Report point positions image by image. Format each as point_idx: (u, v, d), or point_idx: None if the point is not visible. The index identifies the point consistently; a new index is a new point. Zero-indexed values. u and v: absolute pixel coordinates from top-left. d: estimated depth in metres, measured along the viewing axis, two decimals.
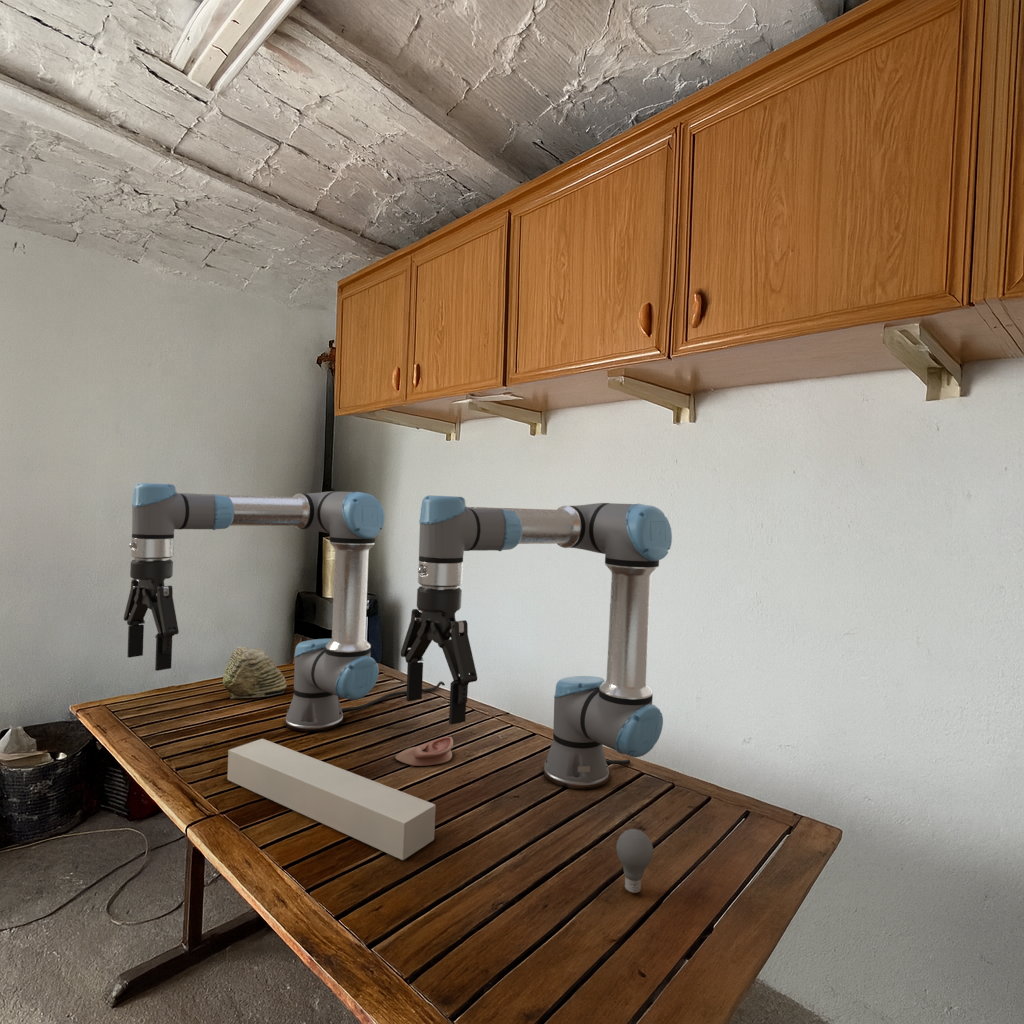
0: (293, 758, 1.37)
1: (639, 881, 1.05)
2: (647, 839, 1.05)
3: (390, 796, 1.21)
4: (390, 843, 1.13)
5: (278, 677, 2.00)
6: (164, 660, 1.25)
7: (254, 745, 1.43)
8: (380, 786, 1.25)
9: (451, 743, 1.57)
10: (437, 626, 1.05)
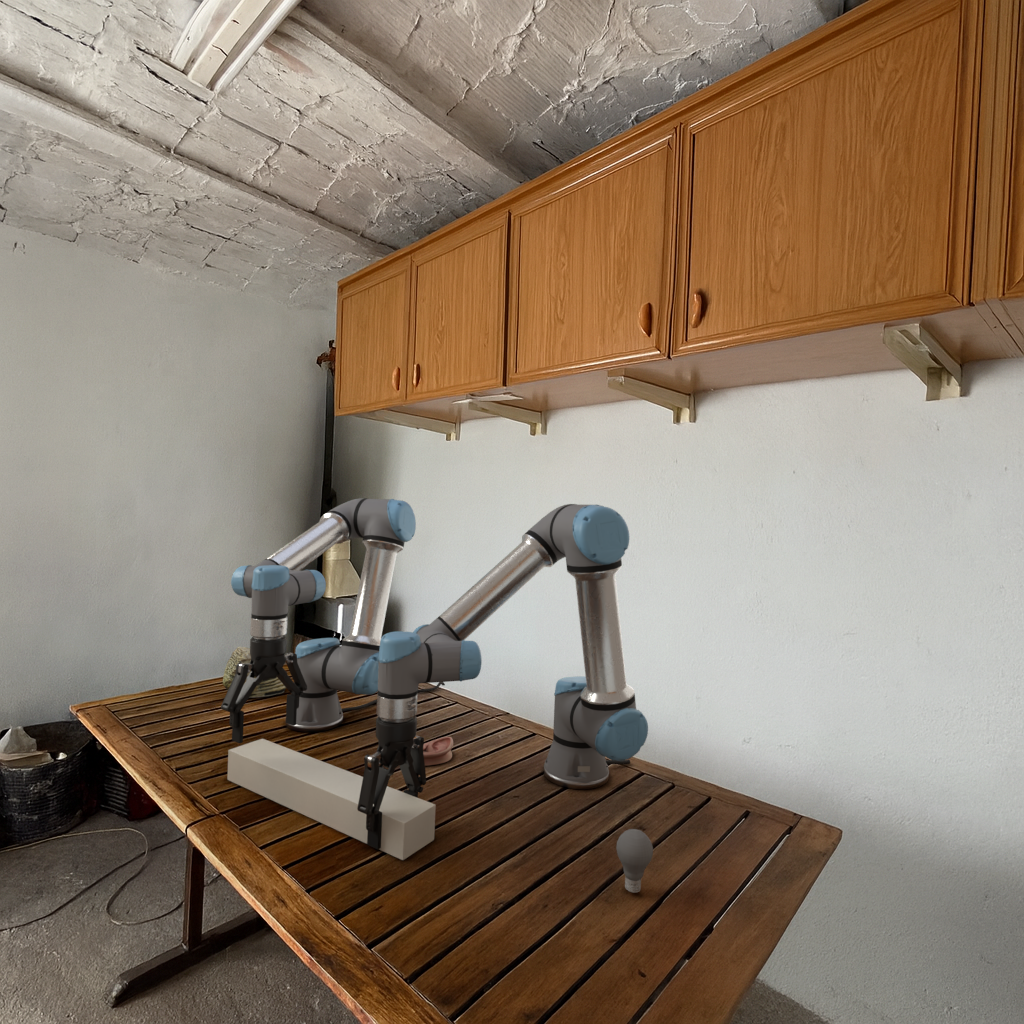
0: (293, 758, 1.37)
1: (639, 881, 1.05)
2: (647, 839, 1.05)
3: (390, 796, 1.21)
4: (390, 843, 1.13)
5: None
6: None
7: (254, 745, 1.43)
8: None
9: (451, 743, 1.57)
10: None
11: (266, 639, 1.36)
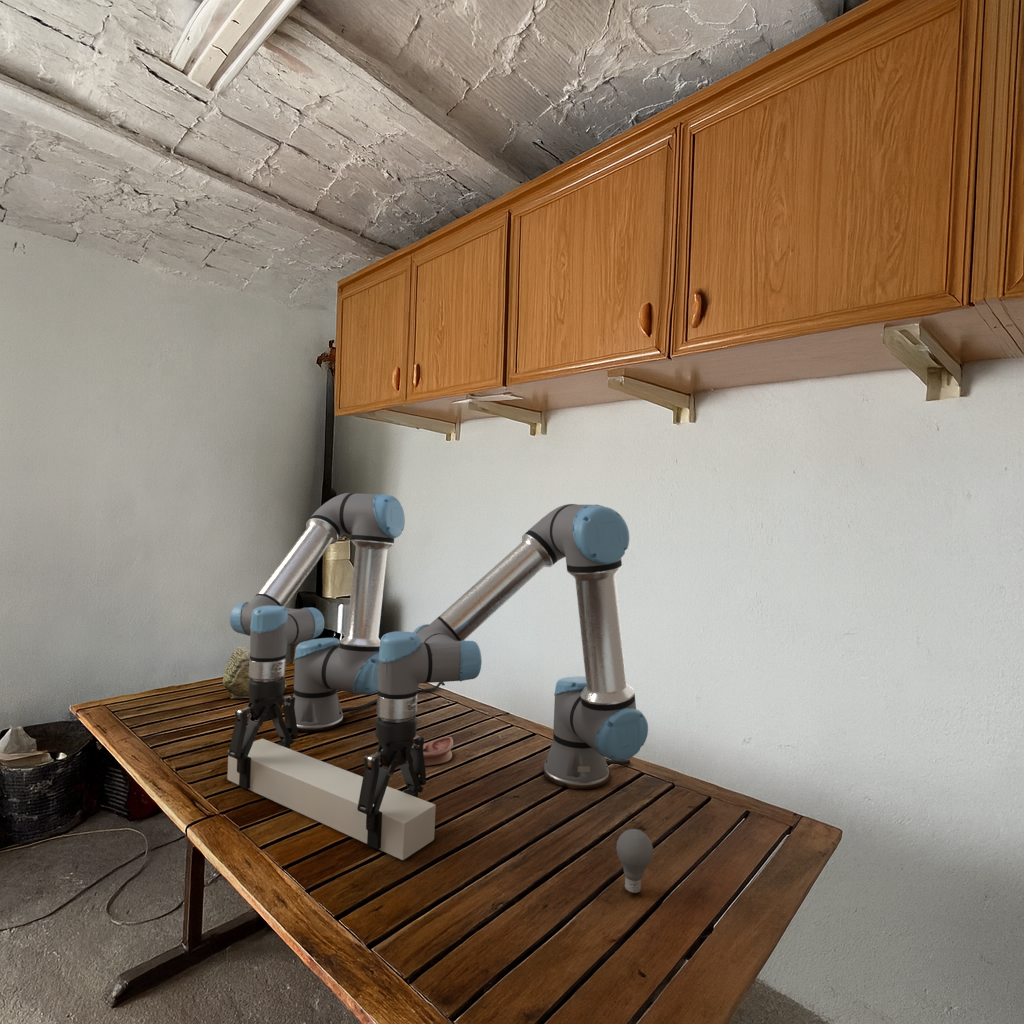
0: (293, 758, 1.37)
1: (639, 881, 1.05)
2: (647, 839, 1.05)
3: (390, 796, 1.21)
4: (390, 843, 1.13)
5: None
6: None
7: (254, 745, 1.43)
8: None
9: (451, 743, 1.57)
10: None
11: (264, 681, 1.36)
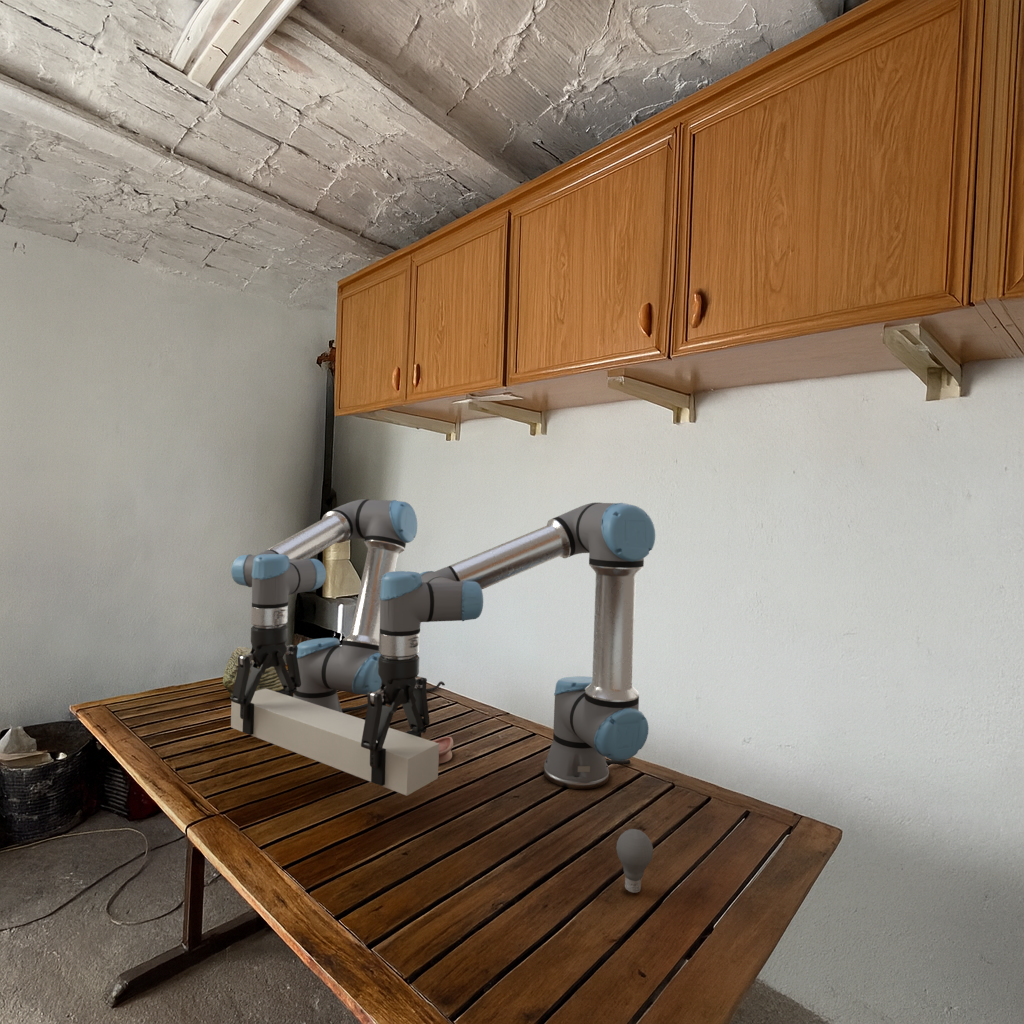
0: (296, 704, 1.37)
1: (639, 881, 1.05)
2: (647, 839, 1.05)
3: (393, 736, 1.21)
4: (394, 779, 1.13)
5: (278, 677, 2.00)
6: None
7: (257, 694, 1.43)
8: None
9: (451, 743, 1.57)
10: None
11: (267, 628, 1.36)
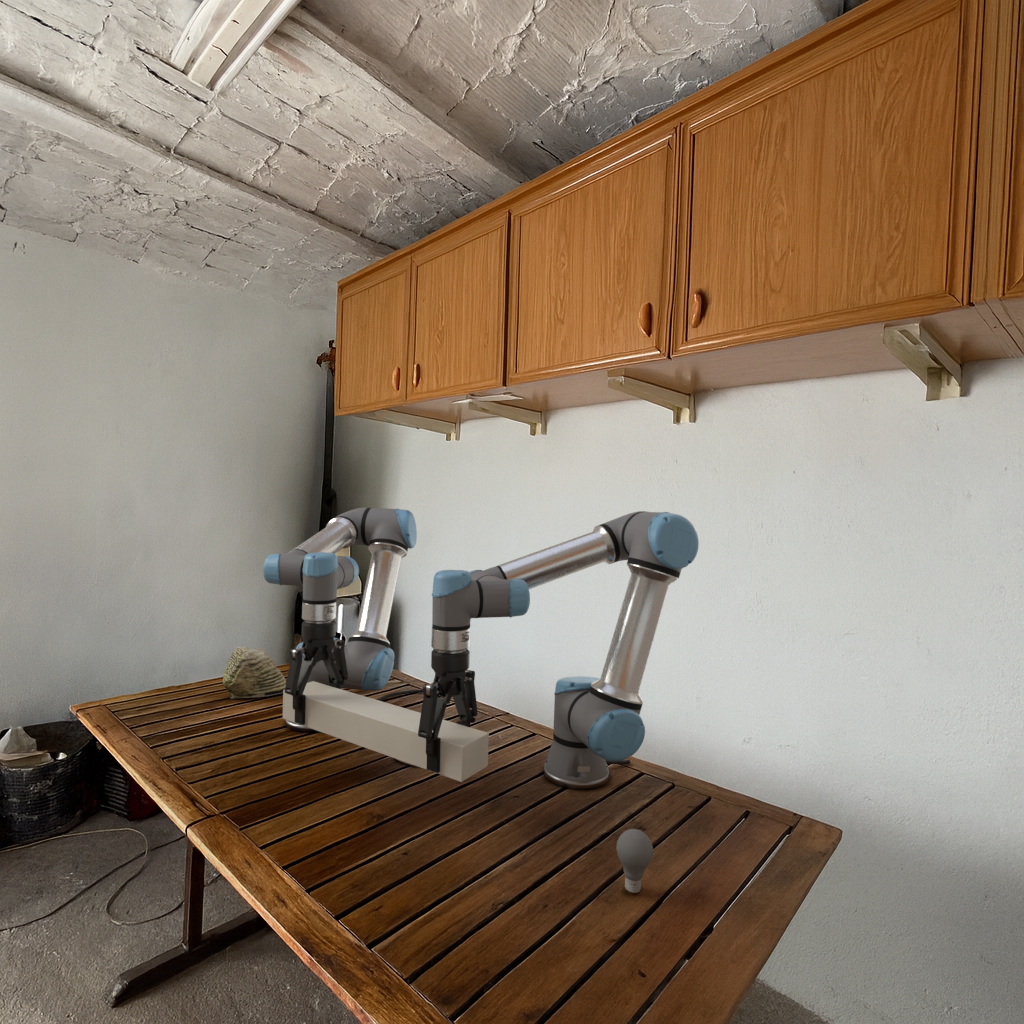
0: (346, 696, 1.43)
1: (639, 881, 1.05)
2: (647, 839, 1.05)
3: (444, 726, 1.28)
4: (448, 766, 1.20)
5: (278, 677, 2.00)
6: None
7: (307, 686, 1.49)
8: None
9: None
10: None
11: (317, 623, 1.43)
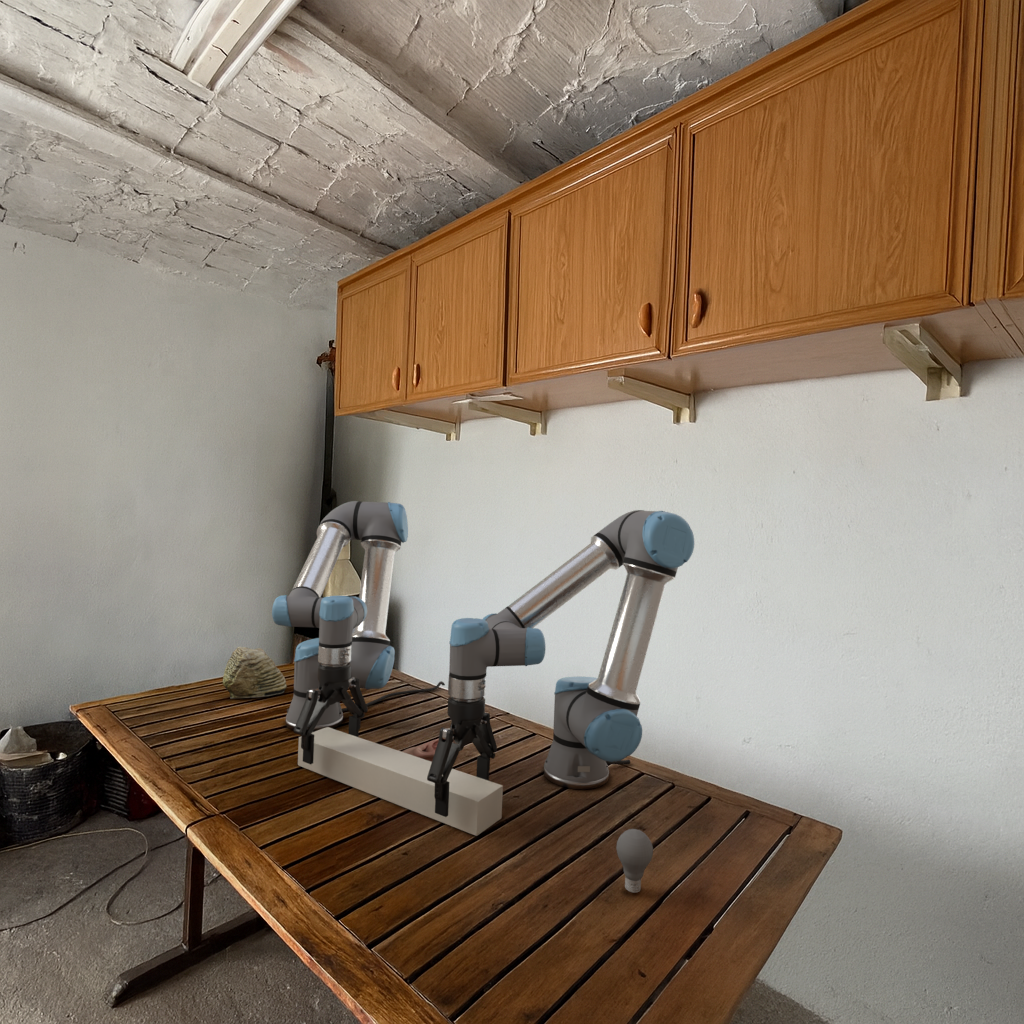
0: (361, 744, 1.46)
1: (639, 881, 1.05)
2: (647, 839, 1.05)
3: (459, 778, 1.30)
4: (464, 820, 1.22)
5: (278, 677, 2.00)
6: None
7: (322, 733, 1.51)
8: None
9: None
10: None
11: (334, 666, 1.45)
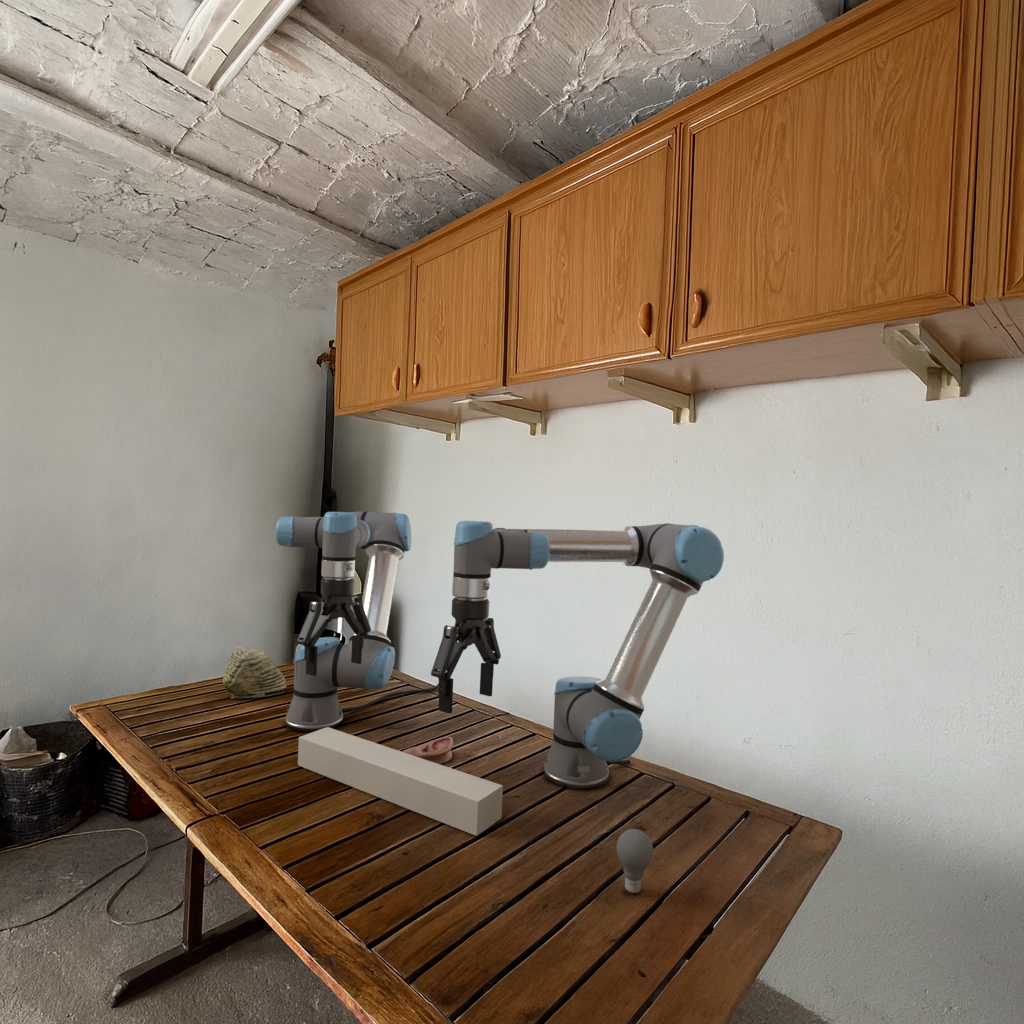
0: (361, 744, 1.46)
1: (639, 881, 1.05)
2: (647, 839, 1.05)
3: (459, 778, 1.30)
4: (464, 820, 1.22)
5: (278, 677, 2.00)
6: None
7: (322, 733, 1.51)
8: (448, 769, 1.34)
9: (451, 743, 1.57)
10: None
11: (337, 579, 1.45)
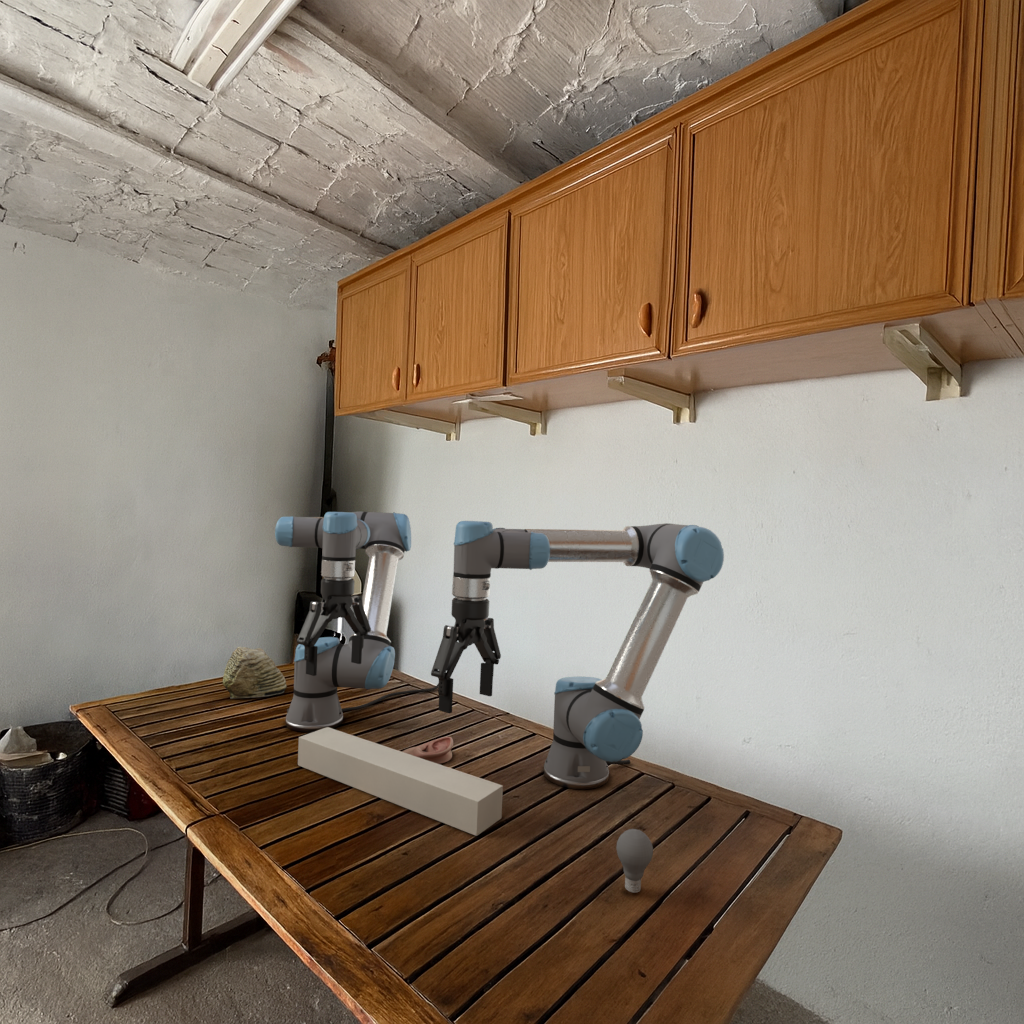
0: (361, 744, 1.46)
1: (639, 881, 1.05)
2: (647, 839, 1.05)
3: (459, 778, 1.30)
4: (464, 820, 1.22)
5: (278, 677, 2.00)
6: None
7: (322, 733, 1.51)
8: (448, 769, 1.34)
9: (451, 743, 1.57)
10: None
11: (337, 579, 1.45)
